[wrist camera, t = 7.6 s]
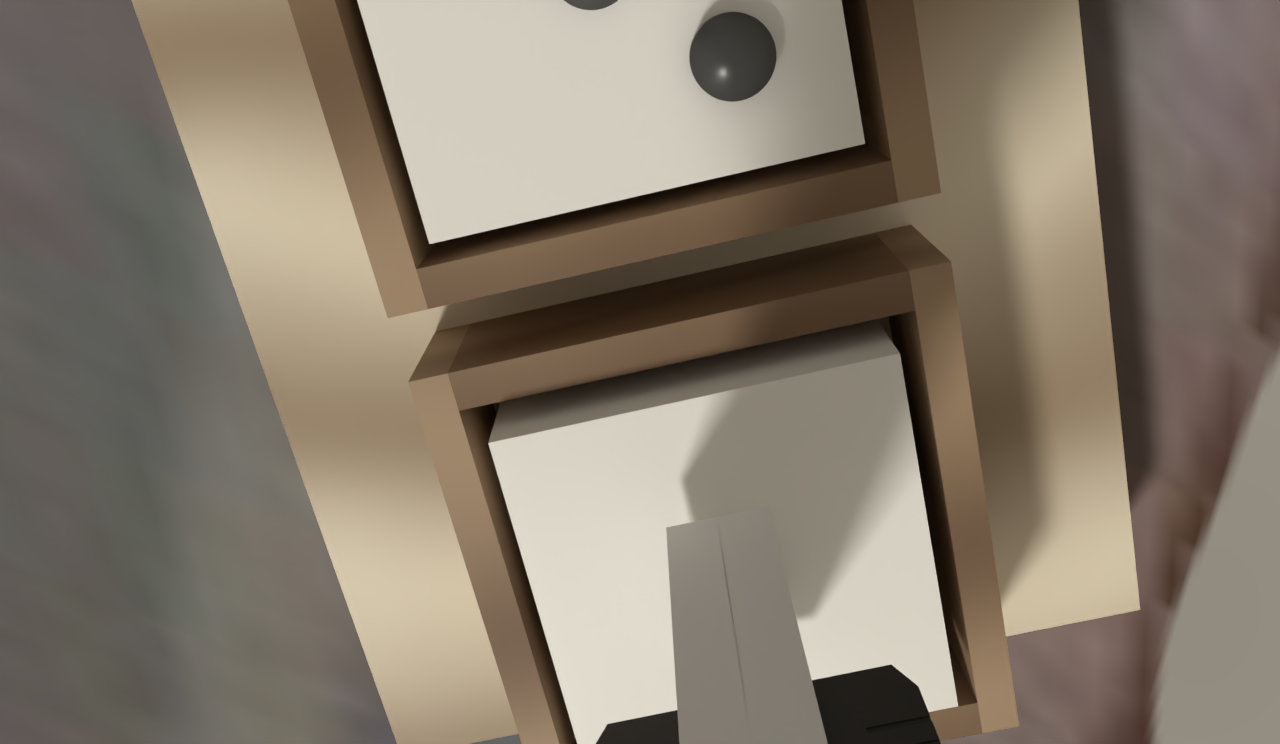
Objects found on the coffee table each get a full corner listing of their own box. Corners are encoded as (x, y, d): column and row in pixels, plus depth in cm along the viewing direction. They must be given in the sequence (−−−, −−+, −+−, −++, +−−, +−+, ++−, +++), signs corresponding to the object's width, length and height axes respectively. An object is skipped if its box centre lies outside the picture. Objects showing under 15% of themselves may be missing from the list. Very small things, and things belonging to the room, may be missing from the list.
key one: (504, 386, 19) (486, 450, 17) (867, 306, 19) (904, 359, 16) (592, 691, 21) (587, 789, 18) (922, 624, 21) (962, 715, 18)
